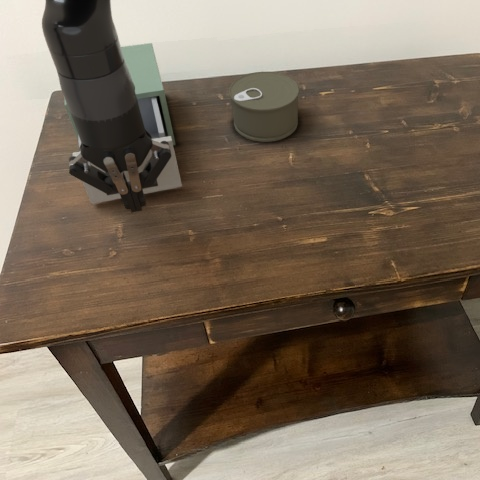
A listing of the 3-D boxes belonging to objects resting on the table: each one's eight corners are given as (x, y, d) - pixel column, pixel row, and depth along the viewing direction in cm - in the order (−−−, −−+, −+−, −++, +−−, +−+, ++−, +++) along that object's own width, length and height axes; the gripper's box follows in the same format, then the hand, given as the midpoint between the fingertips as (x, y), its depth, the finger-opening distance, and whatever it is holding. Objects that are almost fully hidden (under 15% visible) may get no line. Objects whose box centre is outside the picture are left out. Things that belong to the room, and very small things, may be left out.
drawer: (187, 207, 80) (177, 161, 74) (92, 226, 77) (73, 180, 70) (169, 132, 92) (159, 87, 86) (87, 146, 89) (70, 100, 83)
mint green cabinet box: (175, 145, 92) (163, 89, 84) (85, 160, 88) (64, 104, 80) (163, 96, 102) (151, 42, 94) (82, 108, 98) (63, 54, 90)
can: (311, 130, 96) (311, 96, 91) (251, 150, 91) (248, 116, 86) (279, 97, 102) (277, 65, 97) (222, 115, 98) (217, 82, 93)
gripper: (39, 127, 57) (87, 237, 70) (165, 107, 60) (189, 216, 73) (40, 90, 62) (85, 199, 74) (156, 74, 65) (180, 181, 77)
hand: (136, 207), depth 74 cm, fingers closed
